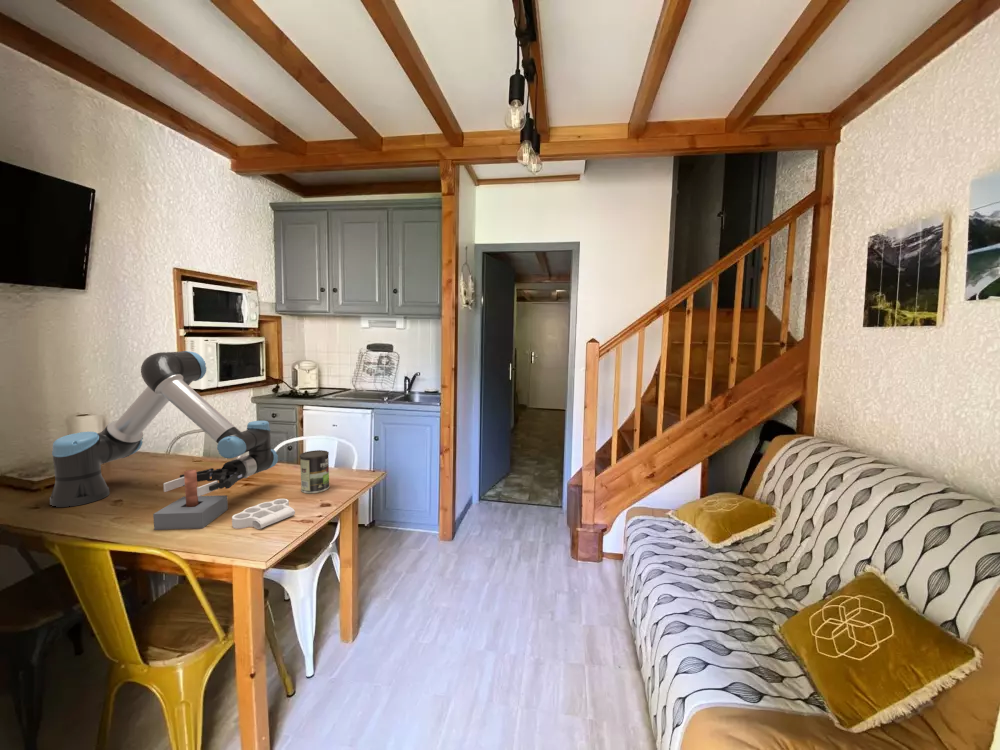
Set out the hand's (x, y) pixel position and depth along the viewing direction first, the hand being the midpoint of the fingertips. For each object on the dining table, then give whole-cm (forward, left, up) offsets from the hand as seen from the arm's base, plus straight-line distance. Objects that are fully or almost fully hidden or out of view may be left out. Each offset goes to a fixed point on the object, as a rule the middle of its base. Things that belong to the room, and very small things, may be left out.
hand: (180, 489), depth 131 cm
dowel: (+1, +3, -11) cm, 12 cm away
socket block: (+1, +3, -11) cm, 11 cm away
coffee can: (+31, +28, -11) cm, 43 cm away
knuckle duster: (+24, +2, -12) cm, 27 cm away
